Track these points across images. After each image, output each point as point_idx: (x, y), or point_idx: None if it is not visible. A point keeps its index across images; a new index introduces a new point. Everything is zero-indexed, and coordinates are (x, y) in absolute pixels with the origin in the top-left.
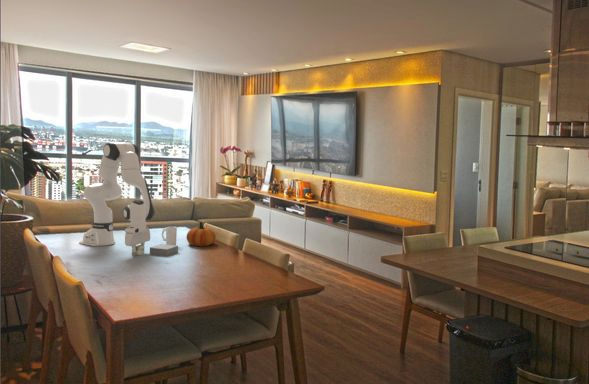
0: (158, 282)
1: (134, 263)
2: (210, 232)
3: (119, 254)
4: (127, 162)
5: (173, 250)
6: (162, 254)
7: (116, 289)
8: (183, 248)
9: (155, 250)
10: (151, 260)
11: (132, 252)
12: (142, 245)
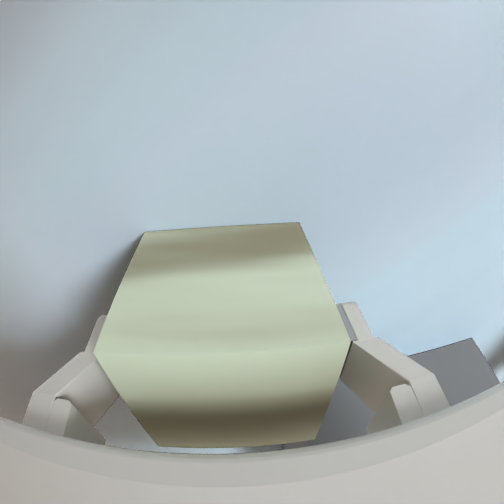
0: None
1: (10, 400)
2: None
3: (40, 52)
4: None
5: None
6: (285, 445)
7: None
8: (499, 375)
9: (295, 447)
10: (121, 442)
11: (137, 261)
12: (305, 429)
